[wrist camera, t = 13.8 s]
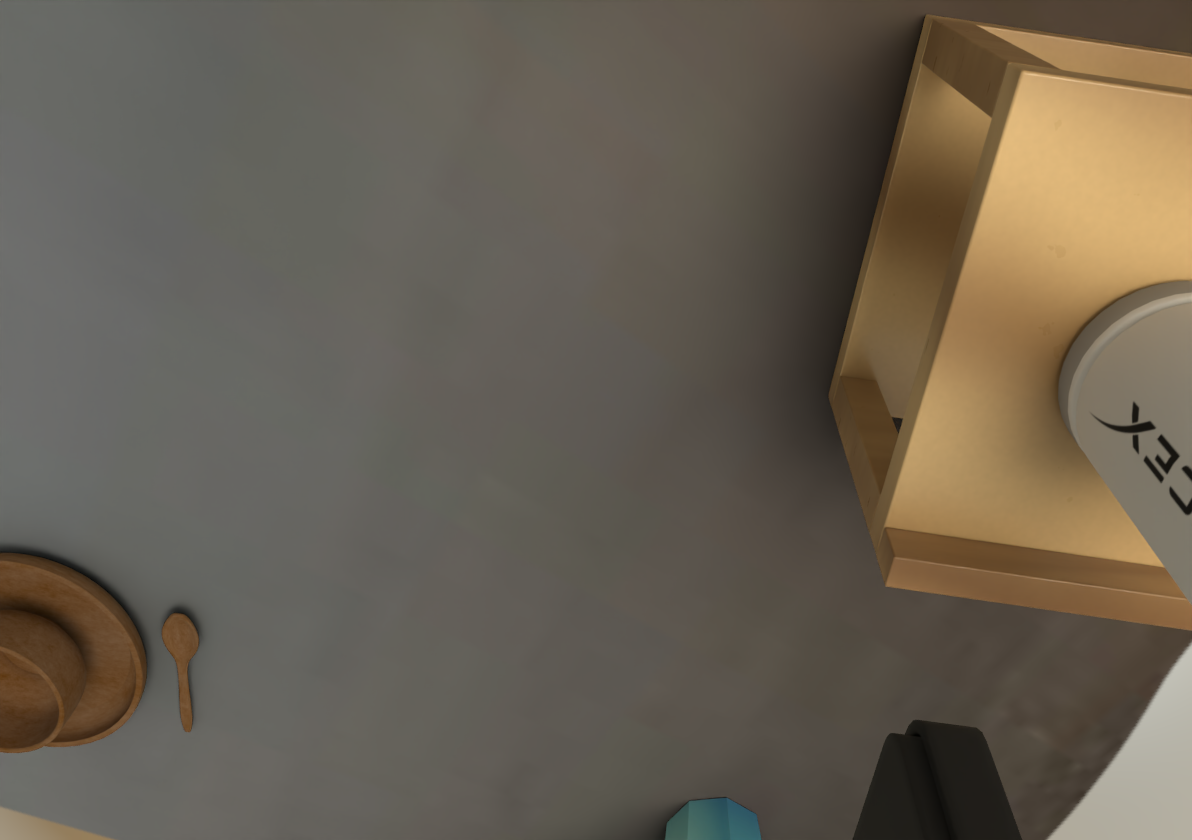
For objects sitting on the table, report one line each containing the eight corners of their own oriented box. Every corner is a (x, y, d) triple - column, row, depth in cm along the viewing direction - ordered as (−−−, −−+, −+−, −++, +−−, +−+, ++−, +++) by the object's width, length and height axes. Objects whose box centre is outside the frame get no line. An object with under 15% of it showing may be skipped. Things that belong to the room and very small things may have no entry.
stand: (925, 13, 41) (1041, 81, 28) (1295, 68, 41) (1579, 160, 28) (827, 396, 48) (884, 586, 35) (1142, 442, 48) (1311, 648, 35)
